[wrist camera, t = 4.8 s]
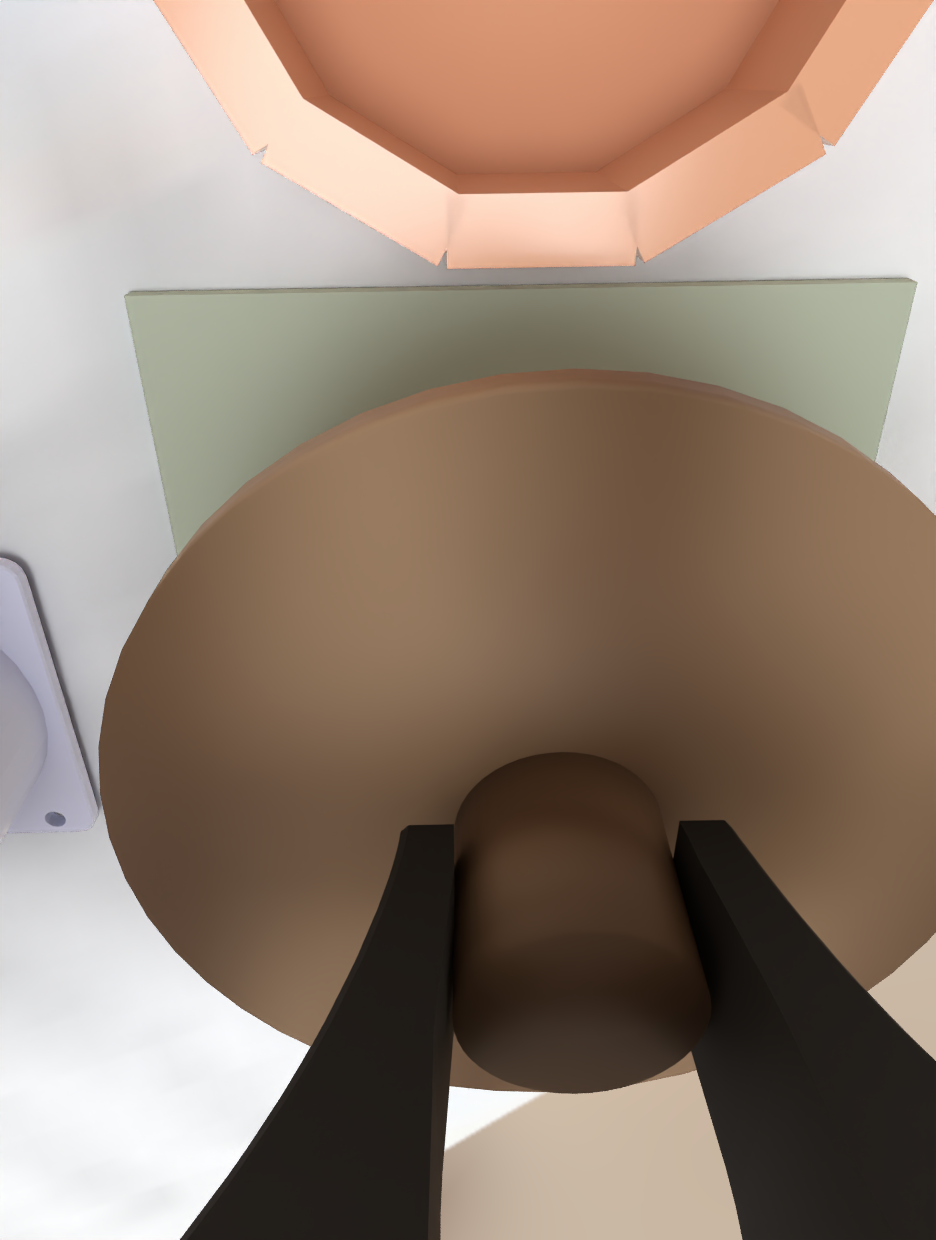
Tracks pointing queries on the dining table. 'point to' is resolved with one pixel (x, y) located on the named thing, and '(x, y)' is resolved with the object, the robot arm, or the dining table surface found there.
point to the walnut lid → (535, 709)
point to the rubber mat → (486, 357)
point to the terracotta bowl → (540, 111)
